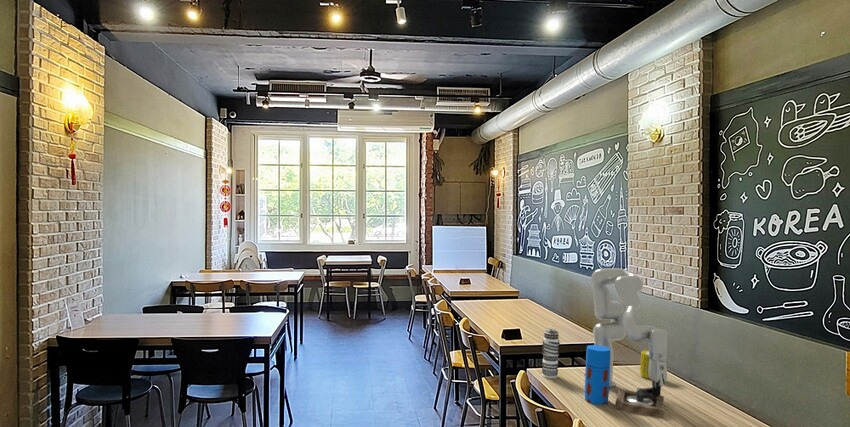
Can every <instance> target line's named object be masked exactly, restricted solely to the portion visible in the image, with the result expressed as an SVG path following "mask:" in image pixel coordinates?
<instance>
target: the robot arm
mask: <svg viewBox="0 0 850 427" xmlns="http://www.w3.org/2000/svg"><path fill="white" fill-rule="evenodd" d="M607 285H608V286H609V285H614V288H615V290H616V293H617V295H618V297H619V298H620V299H619V300H620V301H621V302H619V301H617V300H611V293H610V289H609V288H608V287H607ZM590 286H591V289H592V294H593V296H592V297H593V307H594V308H593V309H594V315H595V318H596V319H598V320H600V321H608V320H610V322H609V321H608V322H599V323H597V324H595V325H594V326H593V329H592V335H593V345H599V346H604V347H608V348H609V349H610V376H609V388H613V387H615V386H616V381H615V380H613V375H614V373H613V371H614V347H613V345H612V343H611V342H613V341H621V340H623V339H624V338H625V337H626V335H627V337H628V338H629V340H631V342H633V343H646V342H649V343H648V351H649V359H650V360H649V371H648V374H649V377H650V378H651V379H650V381H651V385H652V395H653V396H661V393H662V392H661V390H662V387H663V386H664V384H667V382H668V368H667V367H668V366H667V348H668V332H667V330H665V329H664V328H663V329H661V328H658V327H656V326H654V325H650V324H645V325H637V323H636V320H635V315H634V314H635V312H636V311H637V310H638V309H639V308H640V307H641V306H642V305H643V304H642V300H641V298H640V296H639V294H638V293H639V292H641V291H642V289H644V288H643V287H644V282H643V281H642V279H641V278H640V276H638V275H637V274H635V273H632V272H631V271H628V270H626V269H624V268H621V267H619V268H618V267H611V268H610V267H609V268H608V267H603V268H598V269H596V270H595V271H593V273H592V274H591V278H590ZM584 377H585V374H584Z"/></svg>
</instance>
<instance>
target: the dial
mask: <svg viewBox="0 0 850 427" xmlns="http://www.w3.org/2000/svg"><path fill="white" fill-rule="evenodd" d="M636 392H637V396H628V397H627V402H631V403H636V404H642V405H648V406H653V405H654V402H653V401H652V400H651V399H649V398H650V397H659V396H653V395H652V387H643V388H639V387H638V388H636Z"/></svg>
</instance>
